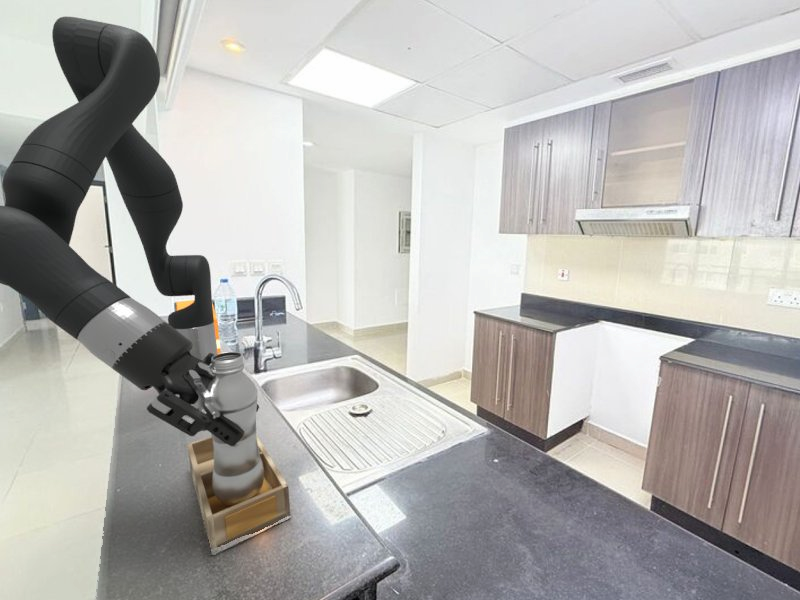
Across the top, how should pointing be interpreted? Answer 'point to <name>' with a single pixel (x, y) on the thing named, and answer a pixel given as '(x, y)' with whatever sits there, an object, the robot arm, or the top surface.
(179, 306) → the orange juice
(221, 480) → the plastic bottle
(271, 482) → the tray
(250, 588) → the top surface
